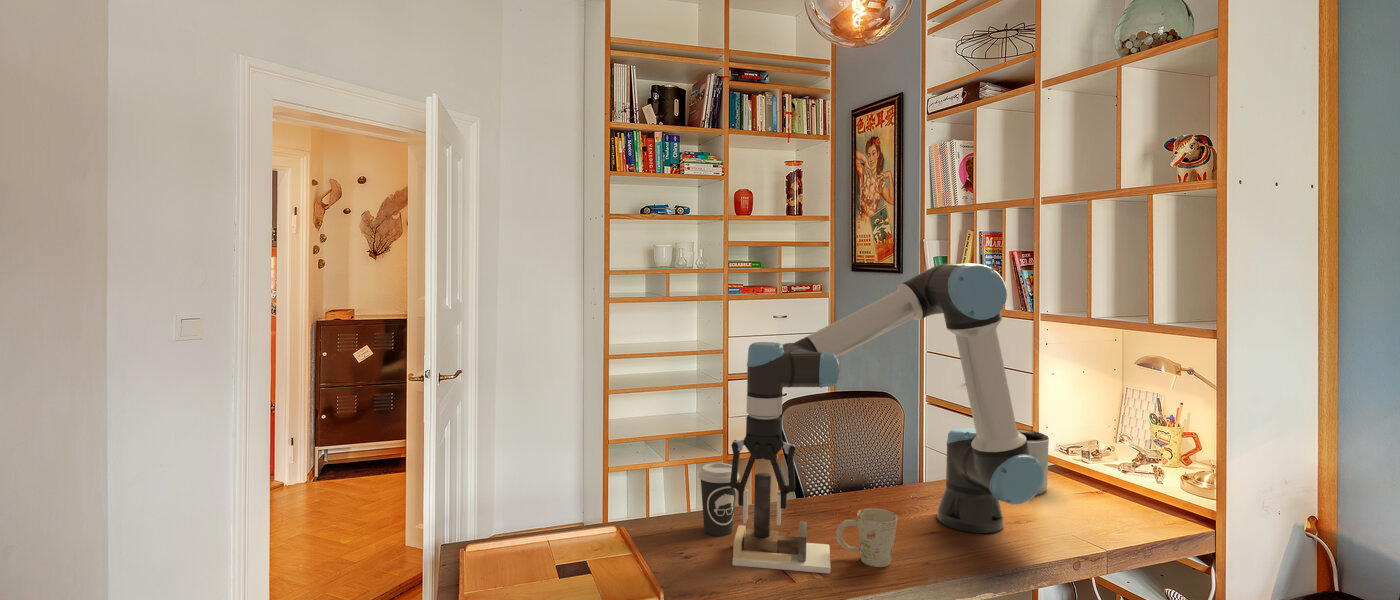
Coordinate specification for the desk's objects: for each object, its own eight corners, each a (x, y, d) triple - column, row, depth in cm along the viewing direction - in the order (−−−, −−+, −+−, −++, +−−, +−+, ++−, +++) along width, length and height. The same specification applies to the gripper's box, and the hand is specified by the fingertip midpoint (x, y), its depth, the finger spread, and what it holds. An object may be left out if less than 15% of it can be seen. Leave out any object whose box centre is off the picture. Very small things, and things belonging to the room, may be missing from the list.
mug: (897, 571, 144) (898, 523, 143) (835, 565, 146) (836, 518, 146) (894, 555, 152) (895, 510, 151) (835, 549, 154) (836, 505, 154)
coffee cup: (743, 526, 167) (744, 464, 166) (731, 541, 158) (733, 475, 157) (705, 521, 170) (706, 460, 170) (691, 535, 161) (692, 471, 160)
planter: (1042, 501, 189) (1045, 444, 188) (980, 489, 198) (982, 435, 197) (1050, 485, 202) (1052, 432, 201) (991, 475, 211) (993, 424, 210)
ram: (806, 544, 153) (808, 472, 153) (805, 561, 145) (807, 484, 144) (747, 539, 156) (748, 468, 155) (743, 556, 147) (744, 480, 146)
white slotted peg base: (829, 549, 154) (829, 530, 154) (830, 573, 142) (830, 552, 142) (738, 542, 157) (739, 523, 157) (732, 565, 146) (732, 544, 145)
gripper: (810, 413, 151) (807, 518, 152) (721, 409, 154) (719, 512, 155) (810, 421, 144) (807, 531, 145) (716, 416, 147) (714, 524, 148)
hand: (761, 521), depth 150 cm, fingers open, 6 cm apart
